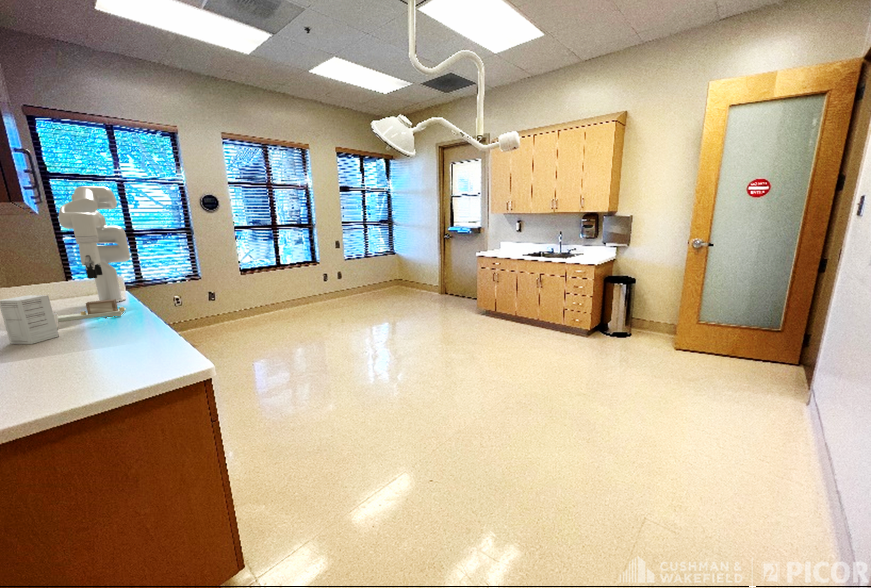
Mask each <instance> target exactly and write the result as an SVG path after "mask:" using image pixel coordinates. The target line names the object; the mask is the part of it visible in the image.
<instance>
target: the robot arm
mask: <svg viewBox="0 0 871 588" xmlns="http://www.w3.org/2000/svg"><path fill="white" fill-rule="evenodd" d="M117 204H118V201H117V198H116V196H115V194H114V192H113V191H112V189H110V188H108V187H106V186H95V185H93V186H90V185H89V186H88V185H81V186H78V187H76V188H75V189H74V192H73V194H72V195H71V201H69V202H67V203H64V204H62V206H60V207H59V211H58V222H59V224H60V225H61V227H62V228H65V229H67V230H69V229H70V230H73V233H74V237H75V242H76V244H77V245H78V249H79V251H78V252H79V257H80V263H81V266H84V267H85V272H86V276H87V279H94V282H95V283H94V284H95V287H96V291H97V297H98V299H97V300H96V301H101V300H112V299H116V303H119V301H120V302H123V301H126V299H127V298H126V297H125V296H122V293H121V288H120V283H119V282H120V281H119V279H118V273H117V270H116V268H115V267H114V266H112V265H111V263H122V262H123V263H124V262H128V261H129V260H130V259H131V258H130V257H131V255H130V254H131V253H130V250H129V243H128V239H127V238H128V237H127V234H126V232H125V229H124V228H123V226H119V225H107V223H106V218H105V216H104V215H103V214H102V213H101V212H99V211H98V210H114V209H115V208H116V207H117ZM98 244H112V245H98ZM114 244H116V245H114ZM109 263H110V264H109Z"/></svg>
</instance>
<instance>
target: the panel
mask: <svg viewBox="0 0 871 588" xmlns="http://www.w3.org/2000/svg"><path fill="white" fill-rule="evenodd" d="M126 309H127V308H125V307H124V306H120V307H118V311H114V312H105V313H96V314H88V312H86V311H87V310H82V311H79V312H80V313H70V314H64V315H63V314H62V315H58V323H59V322H66V321H67V322H68V321H74V320H75V321H76V320H83V319H91V318H92V319H93V318H105V319H108V318H107V317H113V316H121V315H122V314H123V313H124V312H126ZM124 314H125V313H124ZM124 314H123V315H124ZM123 315H122V316H123Z"/></svg>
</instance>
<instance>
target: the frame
mask: <svg viewBox="0 0 871 588" xmlns="http://www.w3.org/2000/svg"><path fill="white" fill-rule="evenodd" d="M85 308H86V311H87V312H86V313H88V314H96V313H105V312H114V311H118V309H119V307H118V302H116V299H112V300H101V301H97V300H94V301H86V303H85Z"/></svg>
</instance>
